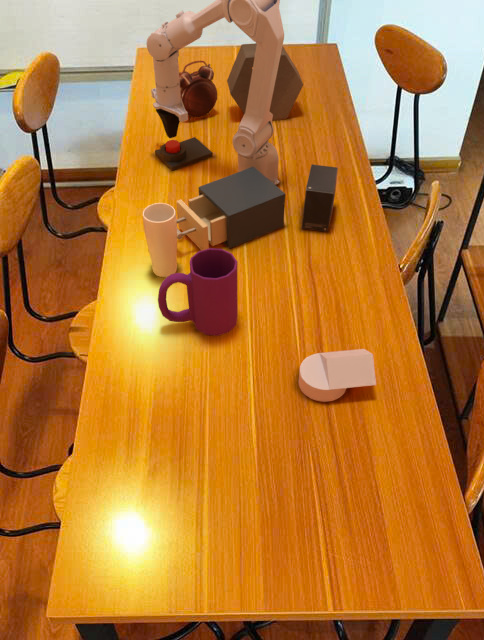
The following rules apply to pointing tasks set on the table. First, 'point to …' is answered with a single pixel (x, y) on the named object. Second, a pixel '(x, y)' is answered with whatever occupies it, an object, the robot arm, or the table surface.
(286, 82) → the dark hexagonal block
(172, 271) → the drinking glass
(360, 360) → the wedge on round base
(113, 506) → the table surface
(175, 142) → the button
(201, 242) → the drawer
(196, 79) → the alarm clock
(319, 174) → the small box
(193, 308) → the mug
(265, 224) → the drawer cabinet
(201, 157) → the control block
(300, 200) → the table surface
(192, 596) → the table surface
